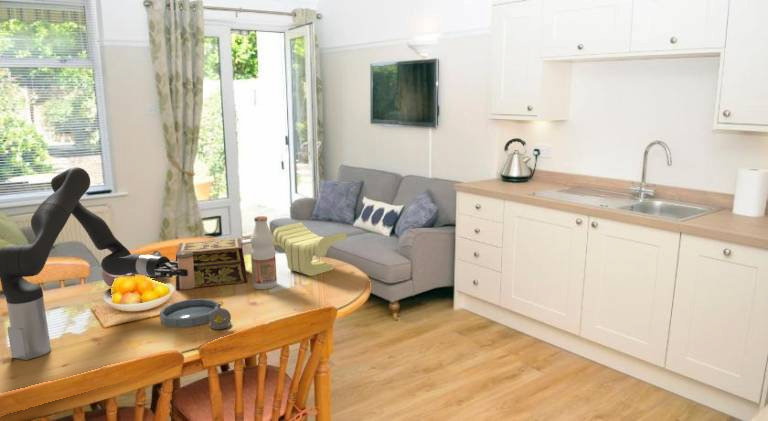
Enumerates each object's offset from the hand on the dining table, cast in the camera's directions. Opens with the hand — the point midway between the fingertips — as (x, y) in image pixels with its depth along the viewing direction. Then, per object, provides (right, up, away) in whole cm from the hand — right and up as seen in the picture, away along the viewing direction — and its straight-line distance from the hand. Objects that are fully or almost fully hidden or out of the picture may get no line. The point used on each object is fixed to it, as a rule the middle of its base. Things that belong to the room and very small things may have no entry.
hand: (192, 270), depth 194 cm
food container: (-32, -8, +48) cm, 58 cm away
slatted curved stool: (+33, -6, +54) cm, 63 cm away
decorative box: (-6, -9, +43) cm, 45 cm away
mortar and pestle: (-41, -11, +36) cm, 56 cm away
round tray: (-2, -16, +4) cm, 17 cm away
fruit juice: (+17, -10, +35) cm, 40 cm away
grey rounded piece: (+11, -18, -6) cm, 22 cm away
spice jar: (-2, -6, +2) cm, 7 cm away
